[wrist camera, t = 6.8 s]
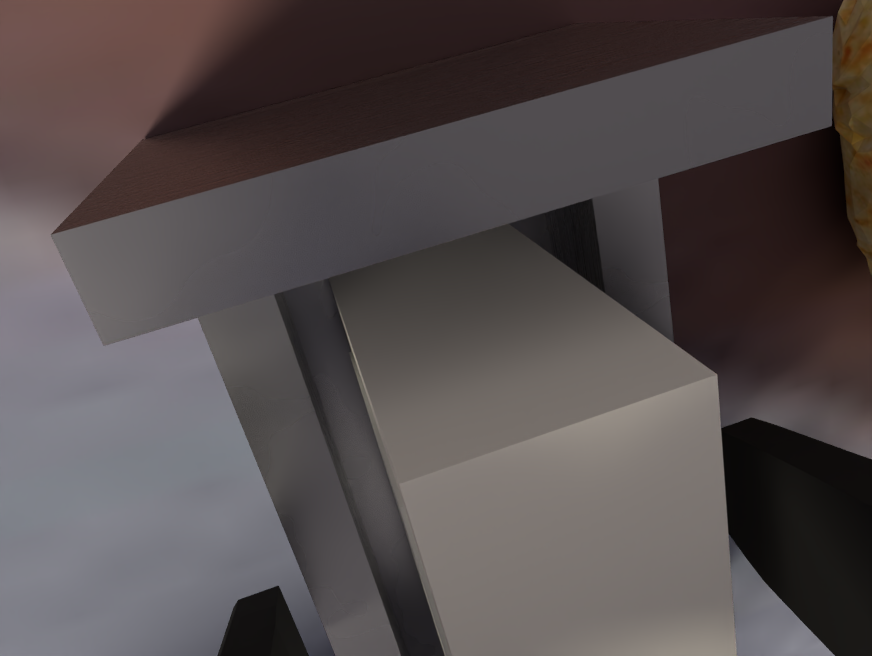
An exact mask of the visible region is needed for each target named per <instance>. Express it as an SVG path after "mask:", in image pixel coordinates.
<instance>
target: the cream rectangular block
mask: <svg viewBox="0 0 872 656" xmlns="http://www.w3.org/2000/svg"><path fill="white" fill-rule="evenodd" d="M329 281H330V285H331V288H332V291H333V294H334V297H335V300H336V304H337V307H338V310H339V313H340V316H341V320H342V323H343V326H344V329H345V332H346V336H347V339H348V342H349V345H350V348H351V351H352V352H349V354H350V357H351V361H352V364H353V367H354V370H355V373H356V376H357V380H358V383H359V386H360V389H361V392H362V395H363V399H364V402H365V405H366V408H367V411H368V414H369V418H370V421H371V424H372V427H373V430H374V433H375V437H376V440H377V443H378V446H379V449H380V452H381V456H382V459H383V462H384V465H385V468H386V471H387V475H388V478H389V481H390V484H391V487H392V490H393V494H394V497H395V500H396V503H397V506H398V509H399V513H400V516H401V519H402V522H403V525H404V528H405V532H406V535H407V538H408V541H409V544H410V547H411V551H412V554H413V557H414V560H415V563H416V566H417V570H418V573H419V576H420V579H421V582H422V585H423V589H424V592H425V595H426V598H427V601H428V604H429V608H430V611H431V614H432V617H433V620H434V623H435V627H436V630H437V633H438V636H439V639H440V642H441V645H442V648H443V651H444V655H445V656H737V651H736V637H735V622H734V608H733V594H732V579H731V565H730V550H729V536H728V522H727V507H726V493H725V478H724V464H723V449H722V435H721V421H720V406H719V392H718V377H717V374H716V373H715V372H713V371H712V370H710V369H709V368H708V367H706V366H705V365H703V364H702V363H701V362H699V361H698V360H697V359H695V358H694V357H692V356H691V355H690V354H688V353H687V352H685V351H684V350H683V349H681V348H680V347H679V346H677V345H676V344H674V343H673V342H672V341H670V340H669V339H667V338H666V337H665V336H663V335H662V334H661V333H659V332H658V331H656V330H655V329H654V328H652V327H651V326H649V325H648V324H647V323H645V322H644V321H643V320H641V319H640V318H638V317H637V316H636V315H634V314H633V313H631V312H630V311H629V310H627V309H626V308H625V307H623V306H622V305H620V304H619V303H618V302H616V301H615V300H613V299H612V298H611V297H609V296H608V295H607V294H605V293H604V292H602V291H601V290H600V289H598V288H597V287H595V286H594V285H593V284H591V283H590V282H589V281H587V280H586V279H584V278H583V277H582V276H580V275H579V274H577V273H576V272H575V271H573V270H572V269H571V268H569V267H568V266H566V265H565V264H564V263H562V262H561V261H559V260H558V259H557V258H555V257H554V256H553V255H551V254H550V253H548V252H547V251H546V250H544V249H543V248H541V247H540V246H539V245H537V244H536V243H535V242H533V241H532V240H530V239H529V238H528V237H526V236H525V235H523V234H522V233H521V232H519V231H518V230H517V229H515V228H514V227H512V226H511V225H510V224H506V225H502V226H499V227H496V228H492V229H489V230H486V231H482V232H479V233H476V234H472V235H469V236H466V237H463V238H459V239H456V240H453V241H449V242H446V243H443V244H439V245H436V246H433V247H429V248H426V249H423V250H420V251H416V252H413V253H410V254H406V255H403V256H400V257H396V258H393V259H390V260H386V261H383V262H380V263H376V264H373V265H370V266H367V267H363V268H360V269H357V270H353V271H350V272H347V273H343V274H340V275H337V276H333V277H330V278H329Z"/></svg>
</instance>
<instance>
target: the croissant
mask: <svg viewBox="0 0 872 656" xmlns="http://www.w3.org/2000/svg"><path fill="white" fill-rule="evenodd" d="M832 89H833V91H834V101H833V118H834V123H835V129H836V130H837V131H838V132H839V133H840V139H841V148H842V157H843V165H844V178H845V192H846V205H847V217H848V219H849V221H850V223H851V226H852V228H853V230H854V233H855V235H856V237H857V244H856V245H857V246H858V248H859V249H860V250H861V251H862V253H863V254H864V255H865V257H866V258H867V262H868V267H869V270H870V273H871V276H872V0H843V2H842V5H841V7H840V9H839V11H838V14H837V19H836V24H835V28H834V33H833V55H832Z"/></svg>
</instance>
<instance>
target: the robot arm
mask: <svg viewBox="0 0 872 656" xmlns="http://www.w3.org/2000/svg"><path fill="white" fill-rule="evenodd" d="M721 435H722V449H723V464H724V478H725V493H726V507H727V522H728V533H729V535H730V536H731V538H732V539H733V540H734V542H735V543H736V545H737V546H738V547H739V549H740V550H741V551H742V553H743V554H744V556H745V557H746V558H747V560H748V561H749V562H750V563H751V565H752V566H753V567H754V569H755V570H756V571H757V573H758V574H759V575H760V576H761V578H762V579H763V580H764V582H765V583H766V584H767V585H768V586H769V587H770V588H771V589H772V590H773V591H774V592H775V593H776V594H777V596H778V597H779V598H780V599H781V600H782V601H783V602H784V603H785V604H786V605H787V606H788V607H789V608H790V609H791V610H792V611H793V612H794V613H795V614H796V616H797V617H798V618H799V619H800V620H801V621H802V622H803V623H804V624H805V625H806V626H807V627H808V628H809V629H810V630H811V631H812V632H813V633H814V634H815V635H816V636H817V637H818V638H819V639H820V641H821V642H822V643H823V644H824V645H825V646H826V647H827V648H828V649H829V650H830V651H831V652H832V653H833V654H834V655H835V656H872V459H869V458H866V457H863V456H860V455H857V454H855V453H852V452H849V451H846V450H843V449H841V448H838V447H835V446H832V445H830V444H827V443H824V442H821V441H819V440H816V439H813V438H810V437H808V436H805V435H802V434H799V433H796V432H794V431H791V430H788V429H785V428H782V427H779V426H777V425H774V424H771V423H768V422H765V421H761V420H758V419H755V418H749V419H746V420H743V421H740V422H738V423H735V424H732V425H729V426H726V427H723V428H721ZM217 656H309V655H308V653H307V650H306V648H305V646H304V643H303V641H302V639H301V636H300V634H299V632H298V629H297V627H296V625H295V622H294V620H293V618H292V615H291V613H290V611H289V609H288V606H287V604H286V602H285V599H284V597H283V595H282V592H281V590H280V588H279V586H276V587H273V588H271V589H268V590H265V591H262V592H259V593H257V594H254V595H251V596H248V597H245V598H242V599H240V600H238V601H237V603H236V605H235V606H234V608H233V611H232V614H231V617H230V620H229V623H228V626H227V629H226V632H225V635H224V638H223V641H222V644H221V647H220V650H219V653H218V655H217Z"/></svg>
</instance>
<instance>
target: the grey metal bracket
mask: <svg viewBox="0 0 872 656" xmlns="http://www.w3.org/2000/svg"><path fill="white" fill-rule="evenodd" d="M832 55H833V16H814V17H780V18H746V19H712V20H678V21H644V22H610V23H577V24H573V25H569V26H566V27H562V28H558V29H554V30H551V31H547V32H543V33H539V34H536V35H532V36H528V37H524V38H521V39H517V40H513V41H510V42H506V43H502V44H498V45H495V46H491V47H487V48H483V49H480V50H476V51H472V52H468V53H465V54H461V55H457V56H453V57H450V58H446V59H442V60H438V61H435V62H431V63H427V64H424V65H420V66H416V67H412V68H409V69H405V70H401V71H397V72H394V73H390V74H386V75H382V76H379V77H375V78H371V79H367V80H364V81H360V82H356V83H352V84H349V85H345V86H341V87H337V88H334V89H330V90H326V91H323V92H319V93H315V94H311V95H308V96H304V97H300V98H296V99H293V100H289V101H285V102H281V103H278V104H274V105H270V106H266V107H263V108H259V109H255V110H251V111H248V112H244V113H240V114H237V115H233V116H229V117H225V118H222V119H218V120H214V121H210V122H207V123H203V124H199V125H195V126H192V127H188V128H184V129H180V130H177V131H173V132H169V133H165V134H162V135H158V136H154V137H150V138H147V139H143V140H141V141H140V142H139V144H138V145H137V146H136V147H135V148H134V149H133V150H132V151H131V152H130V153H129V154H128V155H127V156H126V157H125V158H124V159H123V160H122V161H121V162H120V163H119V164H118V165H117V166H116V167H115V168H114V169H113V171H112V172H111V173H110V174H109V175H108V176H107V177H106V178H105V179H104V180H103V181H102V182H101V183H100V184H99V185H98V186H97V187H96V188H95V189H94V190H93V191H92V192H91V193H90V194H89V195H88V196H87V198H86V199H85V200H84V201H83V202H82V203H81V204H80V205H79V206H78V207H77V208H76V209H75V210H74V211H73V212H72V213H71V214H70V215H69V216H68V217H67V218H66V219H65V220H64V221H63V222H62V223H61V224H60V226H59V227H58V228H57V229H56V230H55V231H54V232H53V233H52V234H51V237H52V239H53V241H54V243H55V245H56V247H57V249H58V251H59V253H60V255H61V258H62V260H63V262H64V264H65V266H66V268H67V270H68V272H69V274H70V276H71V278H72V281H73V283H74V285H75V287H76V289H77V291H78V293H79V295H80V297H81V299H82V301H83V304H84V306H85V308H86V310H87V312H88V314H89V316H90V318H91V320H92V322H93V324H94V327H95V329H96V331H97V333H98V335H99V337H100V339H101V341H102V343H103V345H104V346H105V345H108V344H112V343H115V342H118V341H122V340H125V339H128V338H132V337H135V336H138V335H141V334H145V333H148V332H151V331H155V330H158V329H161V328H165V327H168V326H171V325H175V324H178V323H181V322H184V321H188V320H191V319H194V318H198V320H199V322H200V324H201V327H202V329H203V332H204V334H205V337H206V339H207V342H208V344H209V346H210V349H211V351H212V354H213V356H214V359H215V361H216V364H217V366H218V369H219V371H220V373H221V376H222V378H223V381H224V383H225V386H226V388H227V391H228V393H229V396H230V398H231V400H232V403H233V405H234V408H235V410H236V413H237V415H238V418H239V420H240V423H241V425H242V427H243V430H244V432H245V435H246V437H247V440H248V442H249V445H250V447H251V449H252V452H253V454H254V457H255V459H256V462H257V464H258V467H259V469H260V472H261V474H262V476H263V479H264V481H265V484H266V486H267V489H268V491H269V494H270V496H271V499H272V501H273V503H274V506H275V508H276V511H277V513H278V516H279V518H280V521H281V523H282V526H283V528H284V530H285V533H286V535H287V538H288V540H289V543H290V545H291V548H292V550H293V552H294V555H295V557H296V560H297V562H298V565H299V567H300V570H301V572H302V575H303V577H304V579H305V582H306V584H307V587H308V589H309V592H310V594H311V597H312V599H313V602H314V604H315V606H316V609H317V611H318V614H319V616H320V619H321V621H322V624H323V626H324V629H325V631H326V633H327V636H328V638H329V641H330V643H331V646H332V648H333V651H334V653H335V656H445V655H444V651H443V648H442V645H441V642H440V639H439V636H438V633H437V630H436V627H435V623H434V620H433V617H432V614H431V611H430V608H429V604H428V601H427V598H426V595H425V592H424V589H423V585H422V582H421V579H420V576H419V573H418V570H417V566H416V563H415V560H414V557H413V554H412V551H411V547H410V544H409V541H408V538H407V535H406V532H405V528H404V525H403V522H402V519H401V516H400V513H399V509H398V506H397V503H396V500H395V497H394V494H393V490H392V487H391V484H390V481H389V478H388V475H387V471H386V468H385V465H384V462H383V459H382V456H381V452H380V449H379V446H378V443H377V440H376V437H375V433H374V430H373V427H372V424H371V421H370V418H369V414H368V411H367V408H366V405H365V402H364V399H363V395H362V392H361V389H360V386H359V383H358V380H357V376H356V373H355V370H354V367H353V364H352V361H351V357H350V354H349V352H352V351H351V348H350V345H349V342H348V339H347V336H346V332H345V329H344V326H343V323H342V320H341V316H340V313H339V310H338V307H337V304H336V300H335V297H334V294H333V291H332V288H331V285H330V281H329V278H330V277H333V276H337V275H340V274H343V273H347V272H350V271H353V270H357V269H360V268H363V267H367V266H370V265H373V264H376V263H380V262H383V261H386V260H390V259H393V258H396V257H400V256H403V255H406V254H410V253H413V252H416V251H420V250H423V249H426V248H429V247H433V246H436V245H439V244H443V243H446V242H449V241H453V240H456V239H459V238H463V237H466V236H469V235H472V234H476V233H479V232H482V231H486V230H489V229H492V228H496V227H499V226H502V225H506V224H510V225H511V226H512V227H514V228H515V229H517V230H518V231H519V232H521V233H522V234H523V235H525V236H526V237H528V238H529V239H530V240H532V241H533V242H535V243H536V244H537V245H539V246H540V247H541V248H543V249H544V250H546V251H547V252H548V253H550V254H551V255H553V256H554V257H555V258H557V259H558V260H559V261H561V262H562V263H564V264H565V265H566V266H568V267H569V268H571V269H572V270H573V271H575V272H576V273H577V274H579V275H580V276H582V277H583V278H584V279H586V280H587V281H589V282H590V283H591V284H593V285H594V286H595V287H597V288H598V289H600V290H601V291H602V292H604V293H605V294H607V295H608V296H609V297H611V298H612V299H613V300H615V301H616V302H618V303H619V304H620V305H622V306H623V307H625V308H626V309H627V310H629V311H630V312H631V313H633V314H634V315H636V316H637V317H638V318H640V319H641V320H643V321H644V322H645V323H647V324H648V325H649V326H651V327H652V328H654V329H655V330H656V331H658V332H659V333H661V334H662V335H663V336H665V337H666V338H667V339H669V340H670V341H672V342H673V343H674V338H673V327H672V317H671V307H670V296H669V286H668V276H667V265H666V255H665V245H664V234H663V224H662V214H661V203H660V193H659V183H658V178H661V177H664V176H668V175H671V174H674V173H678V172H681V171H684V170H688V169H691V168H694V167H698V166H701V165H704V164H708V163H711V162H714V161H717V160H721V159H724V158H727V157H731V156H734V155H737V154H741V153H744V152H747V151H751V150H754V149H757V148H761V147H764V146H767V145H770V144H774V143H777V142H780V141H784V140H787V139H790V138H794V137H797V136H800V135H804V134H807V133H810V132H813V131H817V130H820V129H823V128H827V127H830V126H832Z"/></svg>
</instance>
